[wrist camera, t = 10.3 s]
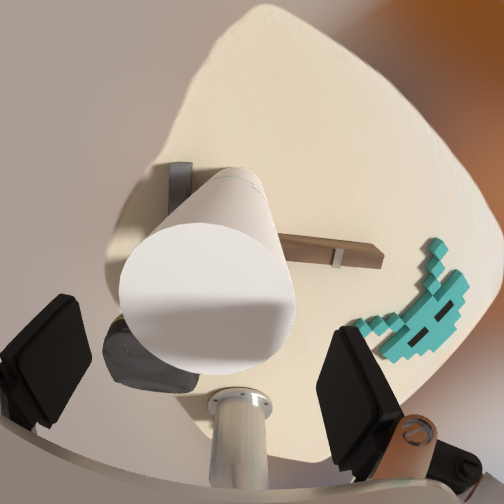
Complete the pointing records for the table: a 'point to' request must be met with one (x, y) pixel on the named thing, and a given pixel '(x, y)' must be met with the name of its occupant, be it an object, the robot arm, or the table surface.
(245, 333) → the cylindrical container
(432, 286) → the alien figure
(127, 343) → the coffee jar
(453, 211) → the table surface
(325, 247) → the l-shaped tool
